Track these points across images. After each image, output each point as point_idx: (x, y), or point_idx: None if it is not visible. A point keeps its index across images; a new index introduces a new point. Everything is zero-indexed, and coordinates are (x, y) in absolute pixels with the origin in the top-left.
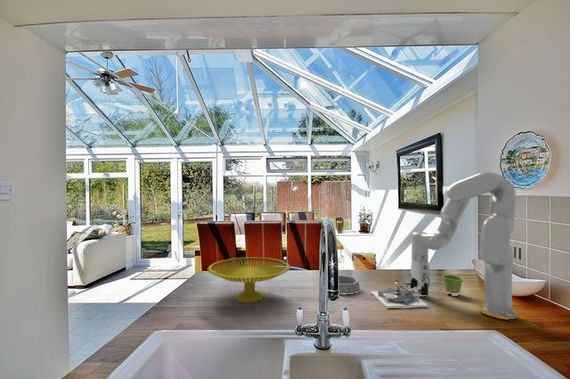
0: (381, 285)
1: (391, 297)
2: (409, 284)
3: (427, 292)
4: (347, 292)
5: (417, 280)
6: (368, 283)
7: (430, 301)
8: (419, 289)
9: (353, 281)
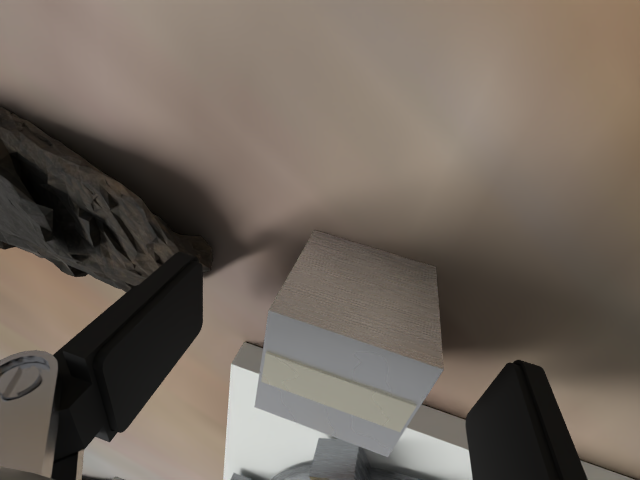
0: None
1: None
2: (41, 235)
3: (551, 409)
4: None
5: (84, 355)
6: None
7: (609, 348)
8: (396, 438)
9: None
